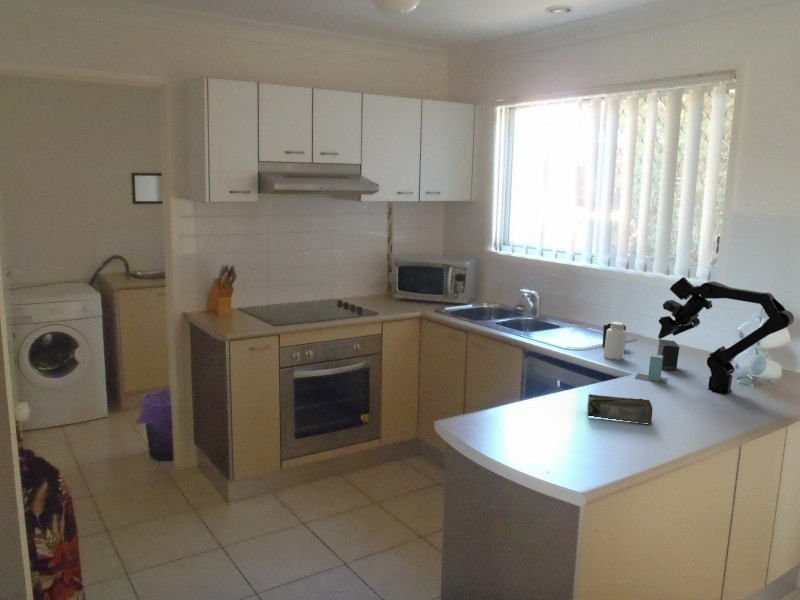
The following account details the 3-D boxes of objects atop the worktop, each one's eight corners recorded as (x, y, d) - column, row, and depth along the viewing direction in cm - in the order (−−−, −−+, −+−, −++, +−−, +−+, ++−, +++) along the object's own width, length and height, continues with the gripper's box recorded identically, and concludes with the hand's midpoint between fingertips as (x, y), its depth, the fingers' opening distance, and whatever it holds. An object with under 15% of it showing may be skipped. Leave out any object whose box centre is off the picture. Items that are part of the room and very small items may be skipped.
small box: (677, 372, 261) (680, 346, 259) (659, 370, 262) (662, 345, 260) (672, 365, 271) (675, 340, 269) (655, 363, 273) (658, 338, 271)
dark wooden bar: (586, 410, 215) (588, 391, 214) (648, 417, 211) (650, 398, 210) (587, 419, 207) (589, 399, 206) (652, 426, 203) (654, 406, 202)
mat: (668, 379, 251) (668, 378, 251) (665, 385, 244) (665, 383, 244) (637, 374, 256) (637, 373, 256) (634, 379, 249) (634, 378, 249)
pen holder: (599, 344, 301) (601, 322, 299) (620, 345, 300) (622, 323, 299) (604, 349, 292) (607, 327, 290) (626, 350, 291) (628, 328, 289)
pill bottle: (625, 361, 274) (628, 325, 271) (605, 359, 275) (608, 324, 273) (621, 356, 282) (625, 321, 279) (602, 354, 283) (605, 320, 280)
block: (660, 378, 251) (663, 355, 249) (659, 381, 247) (661, 358, 245) (649, 376, 252) (652, 353, 251) (647, 379, 249) (650, 356, 247)
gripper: (691, 290, 254) (666, 318, 264) (661, 295, 243) (637, 324, 253) (711, 311, 248) (685, 339, 258) (682, 317, 237) (656, 346, 247)
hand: (666, 336), depth 254 cm, fingers open, 9 cm apart
